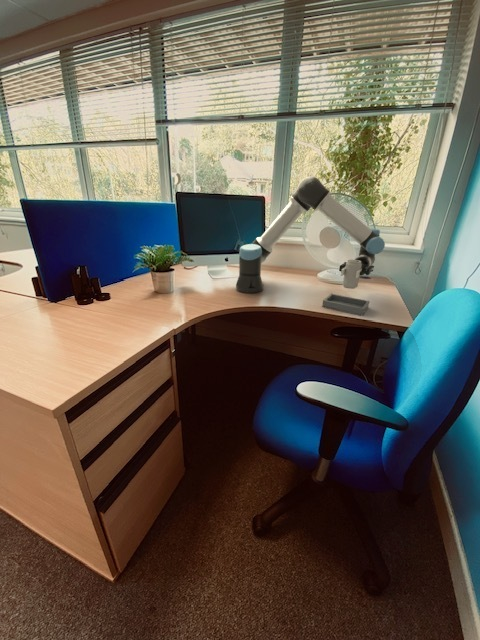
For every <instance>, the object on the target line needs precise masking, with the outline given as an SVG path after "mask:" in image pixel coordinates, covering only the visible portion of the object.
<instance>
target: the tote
mask: <svg viewBox="0 0 480 640" xmlns="http://www.w3.org/2000/svg"><path fill="white" fill-rule="evenodd" d="M369 305H370V300H365V299H361V298H357V297H356V298H355V297H350V296H346V295H345V296H344V295H339V294H335V293H330V294H329V295H328V296H326V297H325V298H324V299H323V300H322V304H321V307H323V308H325V307H326V308H325V309H330V308H331V310H334V309H335V311H339V312H344V313H347V312H348V314H353V315H356V314H357V316H361V315H362V316H361V317H363V316H364V315H365V313H366V312H367V310H368V309H369Z"/></svg>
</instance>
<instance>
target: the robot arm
mask: <svg viewBox="0 0 480 640" xmlns="http://www.w3.org/2000/svg"><path fill="white" fill-rule="evenodd" d="M311 208H312V209H313V210H314V211H319V212H320V213H321V214H323V215H324V216H325V217H326V218H327V219H329V221H331V222H332V223H333V224H334V225H335V226H337V227H338V229H339V228H340V229H341V230H342V231H343V232H344V233H346V234H347V235H348V236H349V237H350V238H351V239H353V241H355V242H356V243H358V244H359V245H360V248H359V253H358V257H356V258H355V259H354V260H360V261H361V264H362V266H361V270H358V271H357V273H356V278H358V277H359V278H360V276H364V275H366V276H369V275H370V274H371V273H372V272H373V271H374V267H375V266H374V265H373V264H374V263H375V261H376V255H377V254H378V255H379V254H380V253H381V252H383V251H384V249H385V247H386V246H385V245H386V244H385V241H384V239H383V238H382V237H380V232H381V230H380V229H377V228H369V227H368V226H367V225H366V224H365V223H363V221H361V220H360V219H359V218H358V217H356V216H355V214H353V213H352V212H351V211H349V210H348V209H347V208H346V207H344V205H342V204H341V203H340V202H339V201H337V200H336V199H335V198H334V197H333V196H332V195H331V191H330V190H329V189H327V187H325V186H324V184H323V183H322V181H320V179H319V178H318V177H316V176H306V177H304V178H303V179H302V180H301V181H300V182H299V183H298V186H297V187H296V189H295V190H294V192H293V193H292V194H291V195H290V201H289V202H288V204H286V206H285V207H284V209H283V210H281V212H280V213H279V214H278V215H277V217H276V218H275V219H274V221H272V223H271V224H270V225H269V227H268V228H266V230H265V231H264V232H263V233H262V235H261V236H258V237H256V238H255V239H254V241H252V243H249V244H248V243H247V244H244V245H242V246H240V248H239V253H238V256H239V263H238V264H239V265H238V266H239V267H238V269H239V270H238V272H239V273H238V274H239V275H238V278H237V279H236V280H237V281H236V283H235V284H236V285H235V290H236V289H237V290H236V291H237V292H240V293H244V294H245V293H246V294H256V293H261V292H262V291H263V290H264V282H263V280H262V276H261V271H262V264H263V263H264V262H265V261H266V260H267V258H268V257H269V256H270V254H271V253H272V252H273V247H274V246H275V245H276V244H277V243H278V241H279V240H280V239H281V238H282V237H283V236H284V234H286V232H287V231H288V230H289V229H290V228H291V227H292V225H293V224H294V223H295V222H296V221H297V220H298V218H299V217H300V216H301V215H302V214H303V213H308V211H309V210H311ZM347 262H348V261H344V262H343V263H342V264H341V265H339V267H338V271H339V272H340V277H344V274H345V269H346V268H345V267H346V263H347Z"/></svg>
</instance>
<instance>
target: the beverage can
mask: <svg viewBox="0 0 480 640" xmlns="http://www.w3.org/2000/svg"><path fill="white" fill-rule="evenodd" d="M346 262H347V263H346V267H345V268H346V269H345V274H344V275H343V280H342V286H343V287H344V288H345V289H350V290H352V289H356V288H358V287H359V286H358V285H359V282H360V281H359V280H360V276H359V277H358V278H356V273H357V271H358V270H361V266H362V264H361V261H360V260H355V259H347V261H346Z"/></svg>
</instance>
